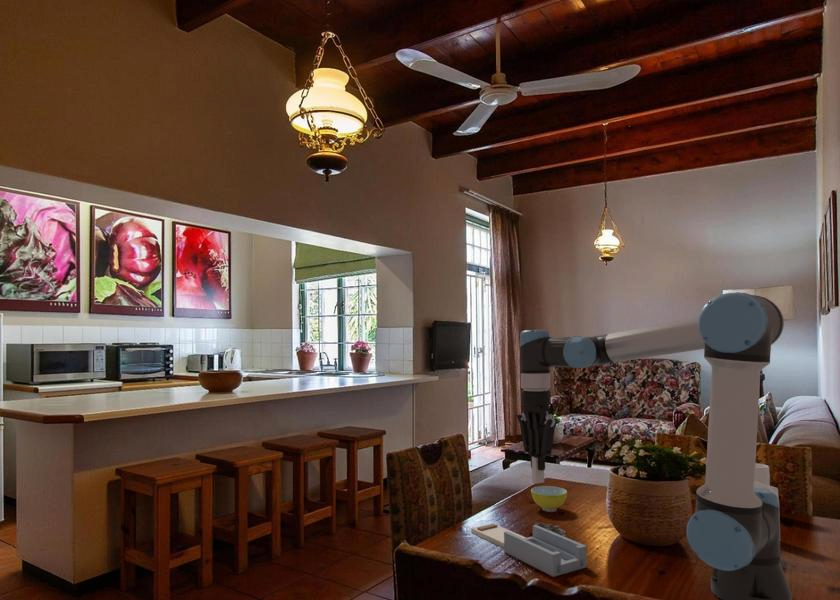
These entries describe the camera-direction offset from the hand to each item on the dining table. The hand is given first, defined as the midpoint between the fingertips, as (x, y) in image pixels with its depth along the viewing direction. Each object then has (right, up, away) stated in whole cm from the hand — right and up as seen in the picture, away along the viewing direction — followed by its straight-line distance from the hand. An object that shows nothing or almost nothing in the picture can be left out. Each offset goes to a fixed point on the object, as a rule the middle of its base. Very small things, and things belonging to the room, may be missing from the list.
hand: (538, 482), depth 146 cm
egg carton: (+5, -20, +10) cm, 23 cm away
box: (+1, -18, -3) cm, 19 cm away
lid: (-8, -20, +12) cm, 25 cm away
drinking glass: (+77, -21, +34) cm, 86 cm away
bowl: (+11, -21, +38) cm, 45 cm away
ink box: (+64, -20, +11) cm, 67 cm away
